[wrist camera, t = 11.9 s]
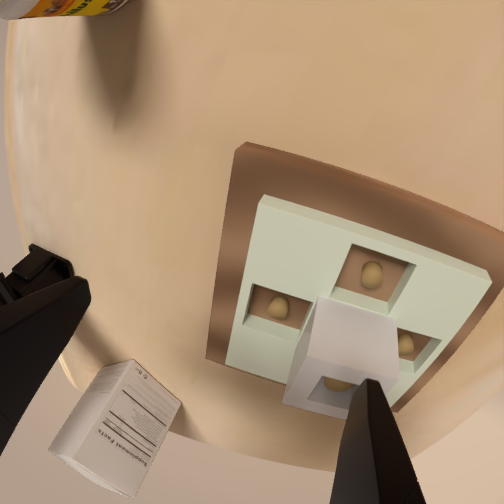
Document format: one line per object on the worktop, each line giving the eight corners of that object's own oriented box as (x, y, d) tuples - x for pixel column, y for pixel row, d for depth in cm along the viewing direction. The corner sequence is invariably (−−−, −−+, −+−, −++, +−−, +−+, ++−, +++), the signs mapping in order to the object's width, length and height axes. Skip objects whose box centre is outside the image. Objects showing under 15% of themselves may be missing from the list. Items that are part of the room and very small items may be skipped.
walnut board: (397, 394, 26) (395, 460, 20) (213, 342, 28) (182, 404, 23) (512, 236, 16) (556, 307, 10) (246, 141, 18) (193, 183, 12)
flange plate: (486, 270, 15) (515, 338, 11) (388, 397, 24) (385, 457, 19) (264, 194, 17) (228, 250, 13) (229, 353, 25) (204, 410, 21)
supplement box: (145, 405, 42) (100, 487, 30) (101, 365, 39) (45, 448, 27) (184, 403, 37) (135, 502, 25) (134, 357, 34) (69, 460, 22)
